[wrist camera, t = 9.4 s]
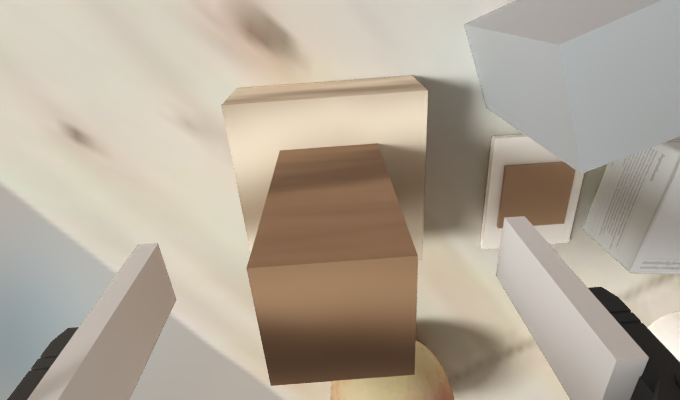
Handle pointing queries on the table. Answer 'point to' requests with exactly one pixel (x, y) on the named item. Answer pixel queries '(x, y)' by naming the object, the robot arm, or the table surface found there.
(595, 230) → the small box
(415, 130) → the birch base
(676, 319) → the figurine
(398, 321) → the walnut pillar
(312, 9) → the table surface
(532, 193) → the tile
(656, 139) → the slate pillar
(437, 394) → the apple
